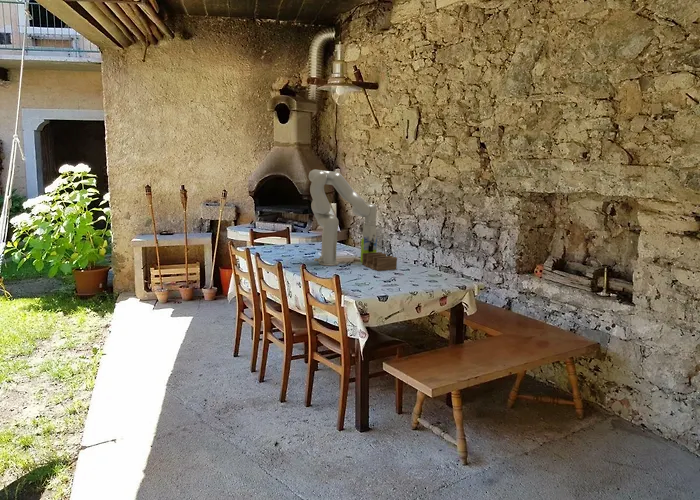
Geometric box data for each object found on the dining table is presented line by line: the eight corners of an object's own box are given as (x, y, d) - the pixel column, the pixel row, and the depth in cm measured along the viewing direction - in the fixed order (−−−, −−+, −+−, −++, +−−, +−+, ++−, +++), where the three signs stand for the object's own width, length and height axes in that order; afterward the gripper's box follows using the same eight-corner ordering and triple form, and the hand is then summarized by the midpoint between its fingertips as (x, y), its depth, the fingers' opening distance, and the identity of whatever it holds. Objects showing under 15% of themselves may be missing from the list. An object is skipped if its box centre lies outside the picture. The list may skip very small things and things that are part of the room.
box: (373, 260, 372) (374, 234, 368) (376, 261, 368) (378, 236, 365) (359, 261, 367) (361, 235, 363) (362, 262, 363) (364, 236, 360)
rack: (396, 269, 349) (397, 257, 348) (377, 271, 342) (378, 259, 341) (380, 263, 364) (381, 252, 363) (362, 264, 357) (362, 253, 356)
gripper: (358, 221, 368) (357, 249, 371) (372, 225, 354) (370, 253, 357) (368, 221, 372) (366, 248, 375) (382, 225, 358) (380, 253, 361)
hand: (368, 250), depth 366 cm, fingers closed on box, 4 cm apart
